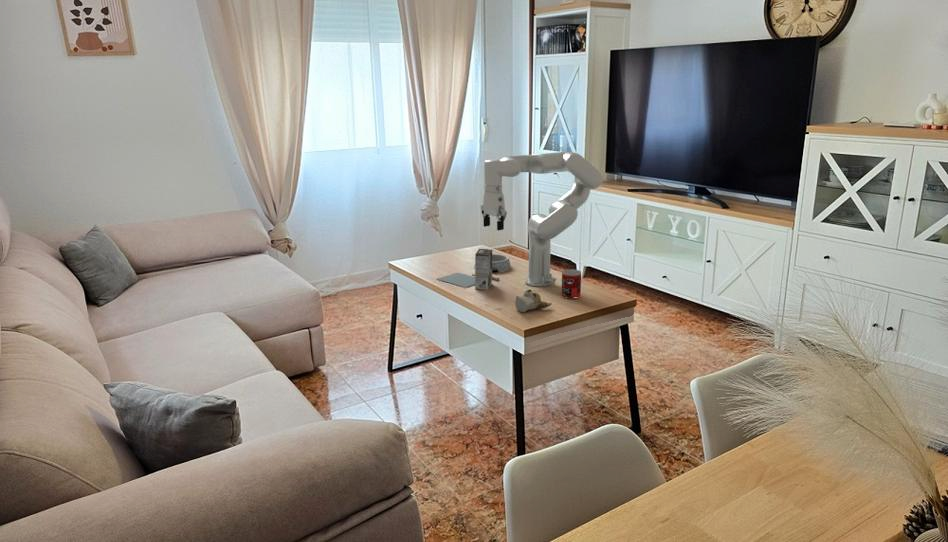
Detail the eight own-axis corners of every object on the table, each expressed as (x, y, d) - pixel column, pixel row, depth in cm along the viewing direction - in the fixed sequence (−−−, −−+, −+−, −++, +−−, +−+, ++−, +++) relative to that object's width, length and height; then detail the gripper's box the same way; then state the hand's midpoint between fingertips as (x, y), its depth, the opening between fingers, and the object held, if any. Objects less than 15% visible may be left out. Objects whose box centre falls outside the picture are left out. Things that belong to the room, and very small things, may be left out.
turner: (501, 279, 287) (501, 276, 287) (494, 281, 284) (494, 279, 284) (478, 273, 297) (478, 271, 297) (471, 275, 294) (471, 273, 294)
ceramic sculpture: (508, 288, 246) (536, 283, 255) (506, 309, 248) (534, 303, 257) (525, 295, 238) (554, 290, 247) (524, 317, 240) (552, 311, 249)
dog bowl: (474, 263, 316) (474, 253, 314) (510, 263, 315) (510, 253, 313) (473, 273, 299) (473, 262, 298) (511, 273, 298) (511, 262, 297)
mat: (486, 280, 285) (486, 280, 285) (465, 287, 276) (465, 287, 276) (458, 273, 298) (458, 272, 298) (436, 279, 289) (436, 278, 289)
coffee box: (478, 282, 282) (478, 248, 278) (492, 283, 281) (493, 249, 276) (474, 288, 274) (474, 253, 269) (488, 289, 273) (489, 254, 268)
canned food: (558, 295, 265) (558, 270, 262) (574, 292, 268) (575, 268, 265) (567, 300, 258) (568, 275, 255) (583, 297, 261) (584, 272, 258)
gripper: (512, 190, 260) (512, 230, 265) (488, 185, 273) (488, 223, 278) (498, 192, 256) (498, 232, 261) (474, 187, 269) (474, 225, 274)
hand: (493, 228), depth 269 cm, fingers open, 9 cm apart
